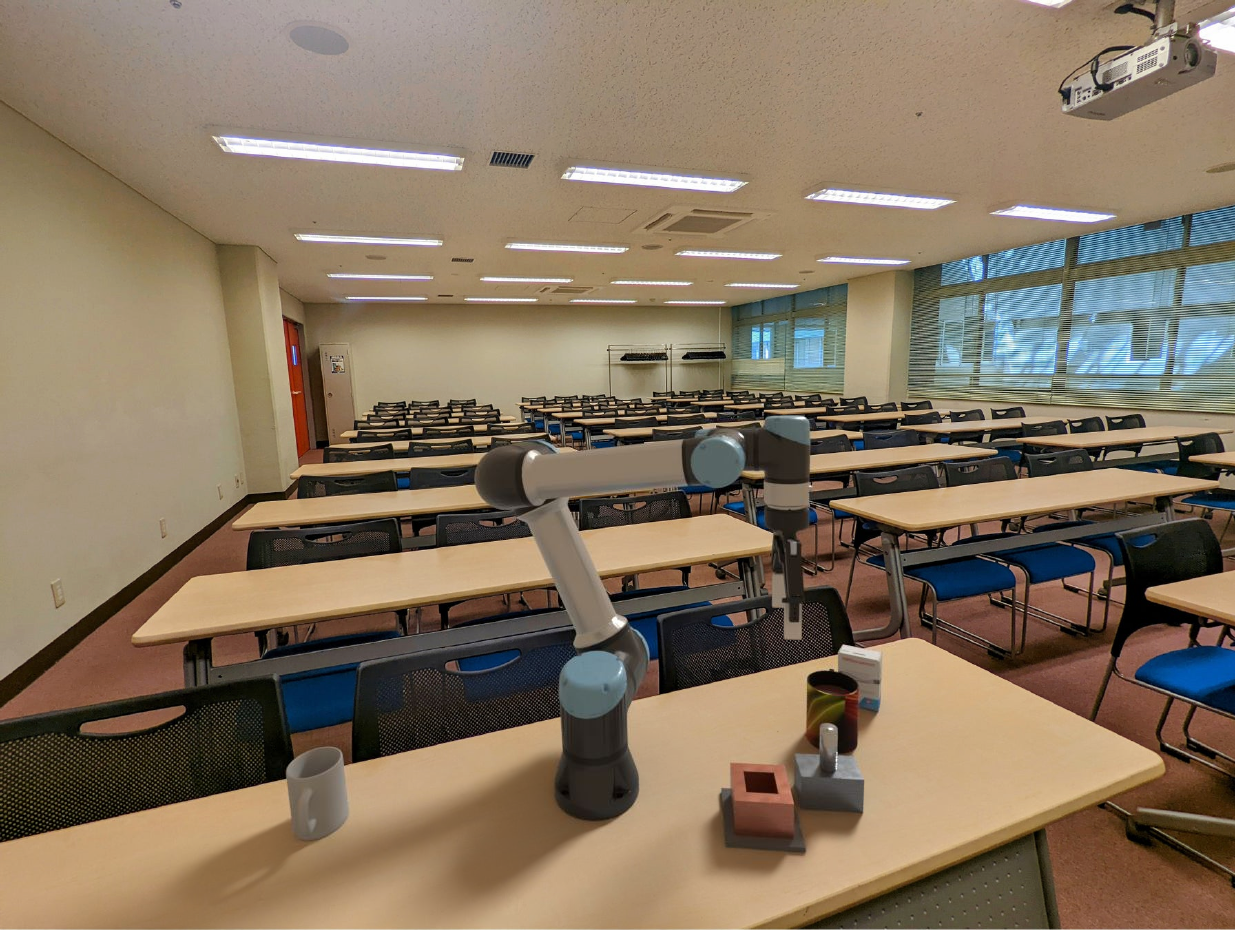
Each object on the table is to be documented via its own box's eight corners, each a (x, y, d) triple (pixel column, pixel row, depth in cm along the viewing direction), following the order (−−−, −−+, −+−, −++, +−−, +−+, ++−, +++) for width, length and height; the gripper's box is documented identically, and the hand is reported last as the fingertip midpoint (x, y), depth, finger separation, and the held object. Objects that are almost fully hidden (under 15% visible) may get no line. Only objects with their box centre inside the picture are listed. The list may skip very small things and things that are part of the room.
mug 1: (302, 808, 99) (295, 750, 98) (354, 799, 101) (348, 742, 99) (277, 863, 87) (268, 799, 86) (336, 852, 89) (329, 789, 88)
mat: (725, 847, 88) (725, 842, 87) (721, 792, 99) (721, 787, 99) (805, 852, 86) (805, 847, 86) (791, 796, 98) (791, 791, 98)
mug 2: (832, 710, 123) (833, 658, 121) (867, 751, 109) (869, 693, 107) (789, 715, 121) (790, 662, 120) (819, 756, 108) (820, 698, 106)
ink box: (881, 701, 126) (883, 651, 124) (878, 712, 121) (879, 661, 120) (840, 691, 130) (842, 643, 128) (836, 701, 126) (837, 652, 124)
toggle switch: (800, 809, 95) (801, 737, 93) (794, 784, 101) (794, 716, 99) (863, 812, 93) (865, 740, 92) (852, 787, 99) (854, 718, 98)
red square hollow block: (734, 835, 89) (734, 800, 88) (730, 794, 98) (730, 762, 97) (793, 839, 88) (794, 804, 87) (784, 797, 96) (784, 765, 96)
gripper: (826, 522, 85) (824, 655, 88) (795, 491, 110) (794, 596, 113) (775, 522, 86) (774, 653, 89) (755, 491, 111) (756, 595, 113)
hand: (785, 621), depth 101 cm, fingers open, 13 cm apart
